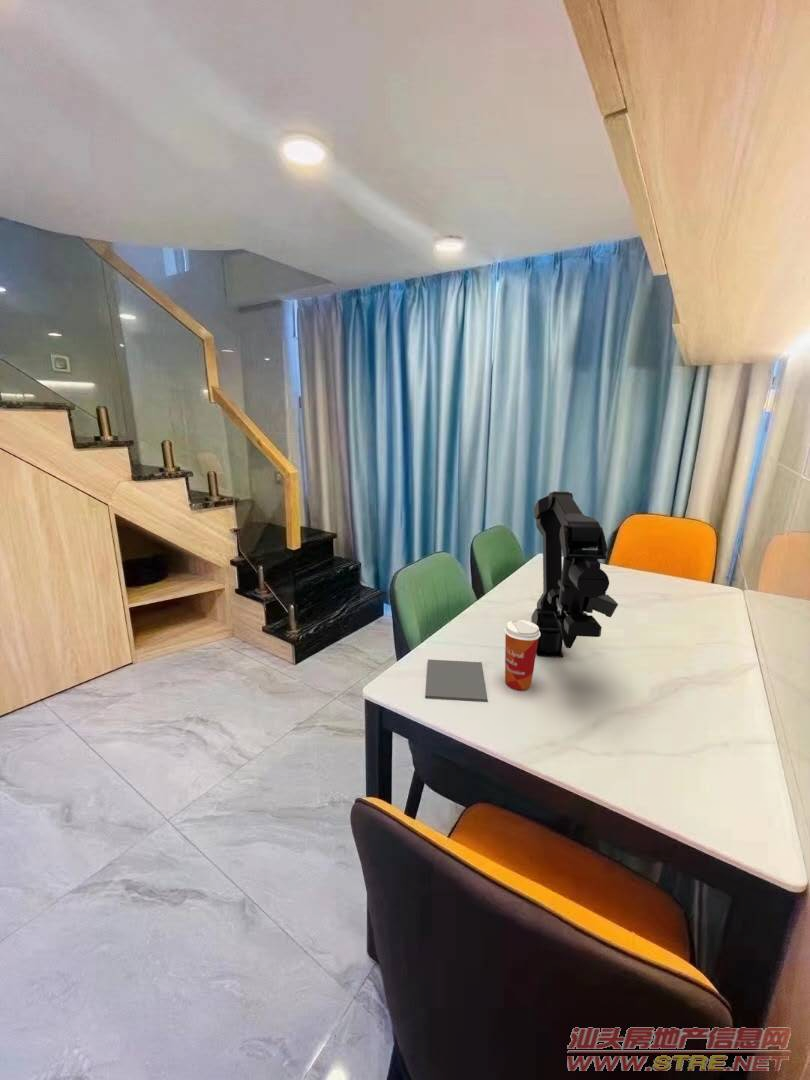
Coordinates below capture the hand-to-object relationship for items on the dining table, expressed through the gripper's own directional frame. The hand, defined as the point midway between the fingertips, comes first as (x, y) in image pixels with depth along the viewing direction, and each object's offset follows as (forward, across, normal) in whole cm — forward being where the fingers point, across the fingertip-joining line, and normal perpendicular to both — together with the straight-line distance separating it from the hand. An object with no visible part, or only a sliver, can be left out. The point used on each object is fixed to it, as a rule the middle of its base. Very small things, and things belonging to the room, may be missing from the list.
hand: (567, 647), depth 96 cm
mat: (+10, 0, +24) cm, 26 cm away
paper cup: (+10, 0, +10) cm, 14 cm away
